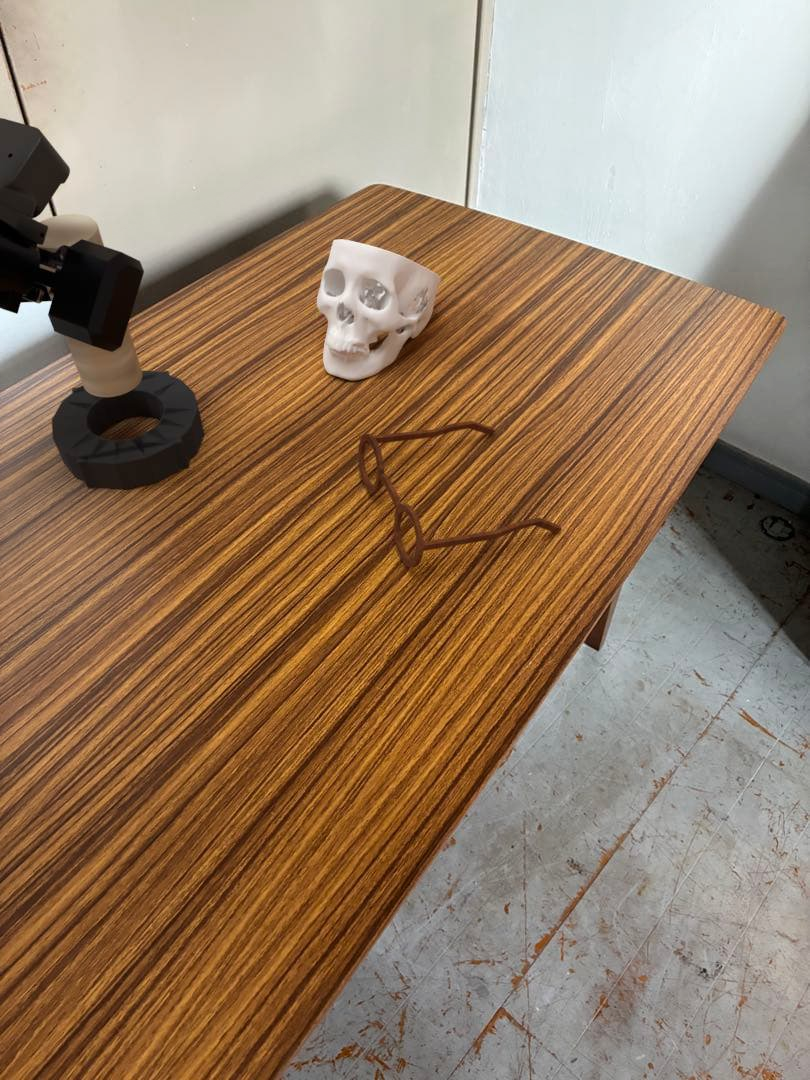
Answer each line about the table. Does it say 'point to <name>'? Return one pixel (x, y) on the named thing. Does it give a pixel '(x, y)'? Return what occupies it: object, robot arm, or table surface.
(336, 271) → the skull bowl
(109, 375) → the beige cylinder
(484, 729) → the table surface
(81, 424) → the black thick flat ring
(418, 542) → the glasses
